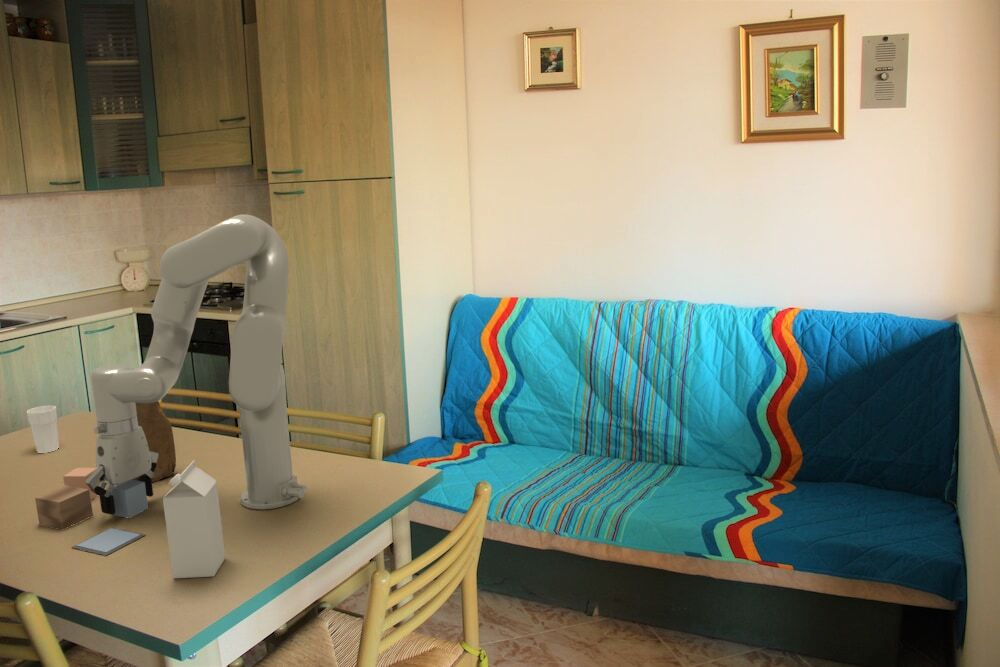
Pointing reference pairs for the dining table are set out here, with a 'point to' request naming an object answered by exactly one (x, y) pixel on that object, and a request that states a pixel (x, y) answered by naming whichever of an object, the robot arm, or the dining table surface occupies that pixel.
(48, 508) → the walnut block
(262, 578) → the dining table surface
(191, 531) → the milk carton
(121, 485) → the slate block
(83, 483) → the terracotta block
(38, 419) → the cup
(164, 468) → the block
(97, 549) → the swatch
